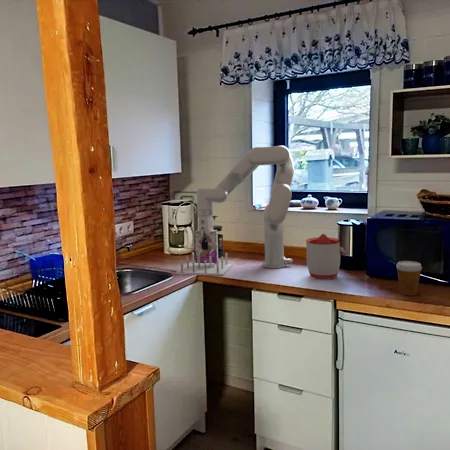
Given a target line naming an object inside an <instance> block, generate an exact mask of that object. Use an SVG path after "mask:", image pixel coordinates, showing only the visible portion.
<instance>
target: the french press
mask: <svg viewBox="0 0 450 450" xmlns="http://www.w3.org/2000/svg"><path fill="white" fill-rule="evenodd" d="M218 217H219V216H218V215H213V216H212V218H213V229H214V230H217V234H218V259H221V257H223V258H224V257H225V254H224V252H225V251H224V235H223V234H222V233H221V234H220V233H219V232H222V231H223V226H222V225H216V221H215V220H216V218H218ZM220 241H221V243H220Z"/></svg>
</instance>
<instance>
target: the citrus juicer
mask: <svg viewBox="0 0 450 450" xmlns="http://www.w3.org/2000/svg"><path fill="white" fill-rule="evenodd" d="M305 242H306V266H307V269H308V273H309V276H310V277H311V278H313V279H314V278H315V279H314V280H333V279H335V278H337V276H338V273H339V271H340V270H339V269H340V265H341V252H342V253H346V251H345V250H344V247H342V246H341V241H340V239H339V238H335V237H328V236H327V235H326V234H325V233H322V234H321V235H319V237H312V238H307V239H306V240H305Z"/></svg>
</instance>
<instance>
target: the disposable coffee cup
mask: <svg viewBox="0 0 450 450" xmlns="http://www.w3.org/2000/svg"><path fill="white" fill-rule="evenodd" d="M396 269H397V280H398V285H399V286H398V287H399V293H400V294H401V295H404V296H415V295H417V294H418V288H419V283H420V277H421V272H422V269H423V267H422V264H421V263H420V262H417V261H412V260H411V261H410V260H402V261H398V262H397V264H396Z"/></svg>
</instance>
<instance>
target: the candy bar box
mask: <svg viewBox="0 0 450 450" xmlns="http://www.w3.org/2000/svg"><path fill="white" fill-rule="evenodd" d="M218 234H219V233H218V232H217V230H212V231H211V232H210V236H208V235H207V242H208V250H202V245H201V236H200V233H199V229H196V230H195V231H194V249H195V250H194V258H195V263H198V256H200V263H204V260H206V263H210V262H209V256H211V261H212V264H214V263H216V261H218V262H219V258H218ZM204 235H206V234H204ZM205 239H206V237H205Z"/></svg>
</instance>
